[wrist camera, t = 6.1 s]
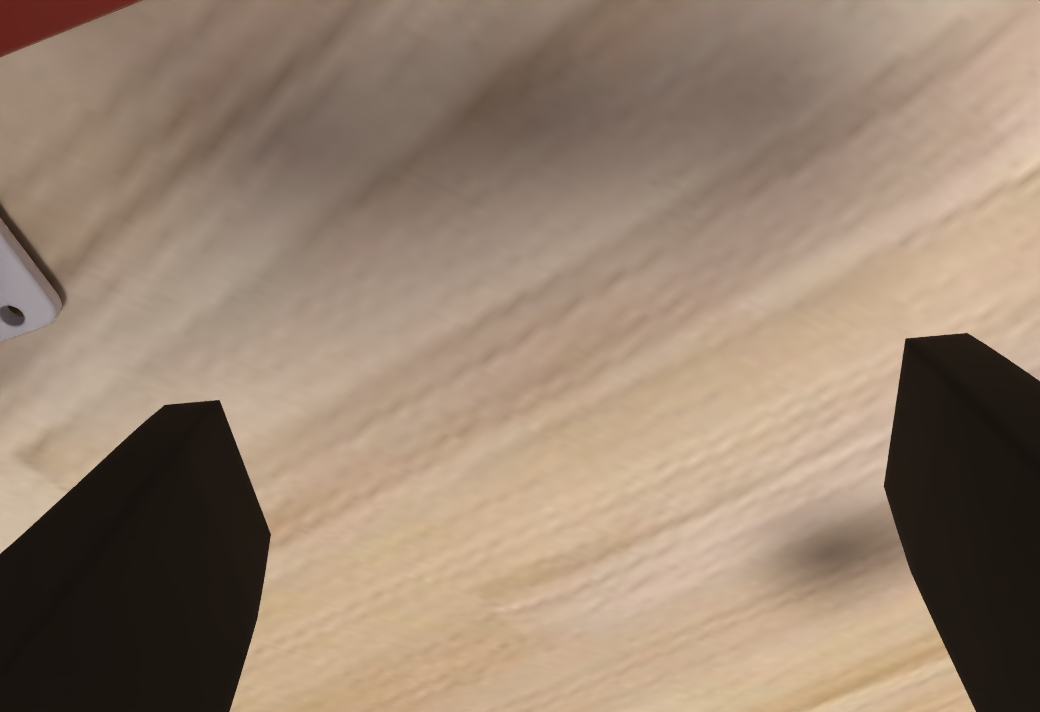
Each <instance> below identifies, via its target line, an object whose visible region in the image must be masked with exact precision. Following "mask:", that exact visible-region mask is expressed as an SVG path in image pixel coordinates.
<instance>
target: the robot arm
mask: <svg viewBox="0 0 1040 712" xmlns="http://www.w3.org/2000/svg"><path fill="white" fill-rule="evenodd" d="M8 306H13V307H16V308H18V309H19V310H20V311H21V312H22V313H23V315H24V316H20V315H17V314H14V313H13V312H12V311H11V310H10V309H9V307H8ZM61 310H62V302H61V300H60V298H59V296H58V294H57V293H56V291H55V290H54V289H53V287H52V286H51V285H50V283H49V282H48V281H47V279H46V278H45V277H44V275H43V274H42V273H41V271H40V270H39V269H38V267H37V266H36V265H35V263H34V262H33V261H32V259H31V258H30V257H29V255H28V254H27V253H26V251H25V250H24V249H23V247H22V246H21V245H20V243H19V242H18V241H17V239H16V238H15V237H14V235H13V234H12V233H11V231H10V230H9V229H8V227H7V226H6V225H5V223H4V222H3V221H2V219H1V218H0V342H1V341H4V340H7V339H10V338H13V337H16V336H19V335H22V334H25V333H28V332H31V331H34V330H37V329H40V328H43V327H46V326H48V325H50V324H51V323H53V322H54V321H55V319H56V318H57V316H58V315H59V313H60V311H61ZM884 488H885V491H886V495H887V498H888V501H889V505H890V508H891V511H892V515H893V518H894V521H895V525H896V528H897V531H898V534H899V537H900V540H901V543H902V546H903V549H904V553H905V556H906V559H907V562H908V565H909V568H910V571H911V573H912V575H913V578H914V580H915V582H916V584H917V586H918V589H919V591H920V593H921V595H922V597H923V600H924V602H925V604H926V606H927V608H928V610H929V613H930V615H931V617H932V619H933V621H934V623H935V626H936V628H937V630H938V632H939V634H940V636H941V638H942V641H943V643H944V645H945V647H946V649H947V651H948V653H949V655H950V658H951V660H952V662H953V664H954V666H955V668H956V670H957V672H958V674H959V677H960V679H961V681H962V683H963V685H964V687H965V689H966V691H967V693H968V696H969V698H970V700H971V702H972V704H973V706H974V708H975V710H976V712H1040V381H1039V380H1037V379H1036V378H1034V377H1033V376H1031V375H1030V374H1029V373H1027V372H1026V371H1024V370H1023V369H1021V368H1020V367H1018V366H1017V365H1015V364H1014V363H1012V362H1011V361H1010V360H1008V359H1007V358H1005V357H1004V356H1002V355H1001V354H999V353H998V352H996V351H995V350H993V349H992V348H990V347H989V346H987V345H986V344H984V343H982V342H981V341H979V340H978V339H976V338H974V337H973V336H971V335H970V334H968V333H963V334H952V335H940V336H929V337H918V338H907V339H905V346H904V353H903V360H902V367H901V373H900V380H899V387H898V394H897V401H896V407H895V414H894V421H893V428H892V435H891V441H890V448H889V455H888V462H887V469H886V476H885V482H884ZM270 536H271V534H270V531H269V529H268V526H267V523H266V521H265V518H264V515H263V513H262V510H261V508H260V505H259V502H258V500H257V497H256V494H255V492H254V489H253V487H252V484H251V481H250V479H249V476H248V473H247V471H246V468H245V466H244V463H243V460H242V458H241V455H240V452H239V450H238V447H237V445H236V442H235V439H234V437H233V434H232V432H231V429H230V426H229V424H228V421H227V418H226V416H225V413H224V411H223V408H222V405H221V403H220V400H215V401H204V402H193V403H182V404H171V405H164V406H163V407H162V408H161V409H160V410H158V411H157V412H156V413H155V414H153V415H152V416H151V417H150V418H149V419H147V420H146V421H145V422H144V423H143V424H142V425H141V426H139V427H138V428H137V429H136V430H135V431H134V432H133V433H132V434H131V435H129V436H128V437H127V438H126V439H125V440H124V441H123V442H122V443H121V444H120V445H119V446H117V447H116V448H115V449H114V450H113V451H112V452H111V453H110V454H109V455H108V456H107V457H106V458H105V459H104V460H102V461H101V462H100V463H99V464H98V465H97V466H96V467H95V468H94V469H93V470H92V471H91V472H90V473H89V474H87V475H86V476H85V477H84V478H83V479H82V480H81V481H80V482H79V483H78V484H77V485H76V486H75V487H74V488H72V489H71V490H70V491H69V492H68V493H67V494H66V495H65V496H64V497H63V498H62V499H60V500H59V501H58V502H57V503H56V504H55V505H54V506H53V507H52V508H51V509H50V510H49V511H47V512H46V513H45V514H44V515H43V516H42V517H41V518H40V519H39V520H38V521H37V522H35V523H34V524H33V525H32V526H31V527H30V528H29V529H28V530H27V531H26V532H25V533H24V534H22V535H21V536H20V537H19V538H18V539H17V540H16V541H15V542H14V543H12V544H11V545H10V546H9V547H8V548H7V549H5V550H4V551H3V552H2V553H1V554H0V712H229V711H230V708H231V705H232V702H233V698H234V695H235V692H236V689H237V685H238V682H239V679H240V675H241V672H242V669H243V665H244V662H245V659H246V655H247V652H248V649H249V645H250V642H251V639H252V635H253V632H254V628H255V625H256V621H257V617H258V611H259V606H260V600H261V594H262V589H263V583H264V577H265V570H266V563H267V557H268V550H269V543H270Z"/></svg>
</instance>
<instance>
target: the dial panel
mask: <svg viewBox="0 0 1040 712" xmlns="http://www.w3.org/2000/svg"><path fill="white" fill-rule="evenodd" d="M139 1H142V0H0V57H2V56H5V55H7V54H10V53H12V52H15V51H17V50H20V49H22V48H25V47H27V46H30V45H32V44H35V43H37V42H40V41H42V40H45V39H47V38H50V37H52V36H55V35H57V34H60V33H62V32H65V31H67V30H70V29H72V28H75V27H77V26H80V25H82V24H85V23H87V22H90V21H92V20H95V19H97V18H100V17H102V16H105V15H107V14H110V13H112V12H114V11H117V10H119V9H122V8H124V7H127V6H129V5H132V4H134V3H137V2H139Z"/></svg>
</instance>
